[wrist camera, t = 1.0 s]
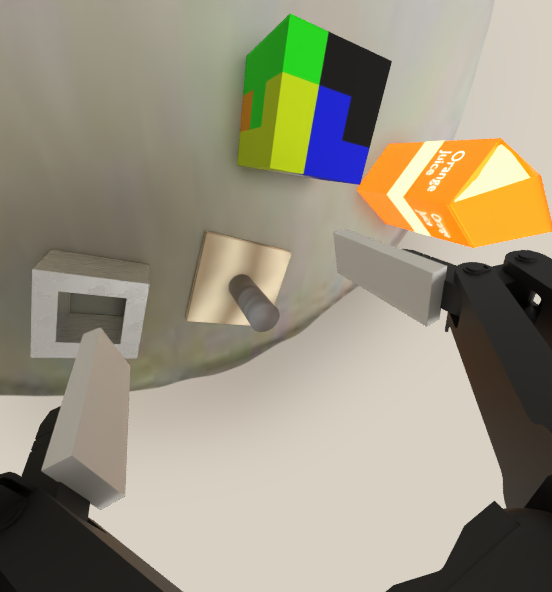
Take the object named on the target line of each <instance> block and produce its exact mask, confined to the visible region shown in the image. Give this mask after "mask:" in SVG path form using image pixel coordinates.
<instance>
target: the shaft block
mask: <svg viewBox="0 0 552 592" xmlns="http://www.w3.org/2000/svg"><path fill="white" fill-rule="evenodd" d="M291 254H292V253H291V252H290V251H288V250H284V249H280V248H276V247H272V246H267V245H263V244H259V243H255V242H251V241H247V240H243V239H238V238H234V237H230V236H226V235H222V234H218V233H214V232H209V231H205V233H204V238H203V242H202V247H201V251H200V255H199V260H198V264H197V269H196V273H195V278H194V282H193V286H192V291H191V295H190V300H189V304H188V309H187V313H186V320H187V321H195V322H209V323H223V324H236V325H250V326H251V327H252V328H253V329H254V330H256V331H259V332H265V331H268V330H270V329H271V328H273V327H274V326H275V325H276V323H277V322H278V319H279V311H278V309H277V308H276V307H275V306H274V304H275V301H276V298H277V295H278V292H279V289H280V286H281V283H282V280H283V277H284V275H285V272H286V269H287V266H288V263H289V260H290V257H291Z"/></svg>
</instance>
